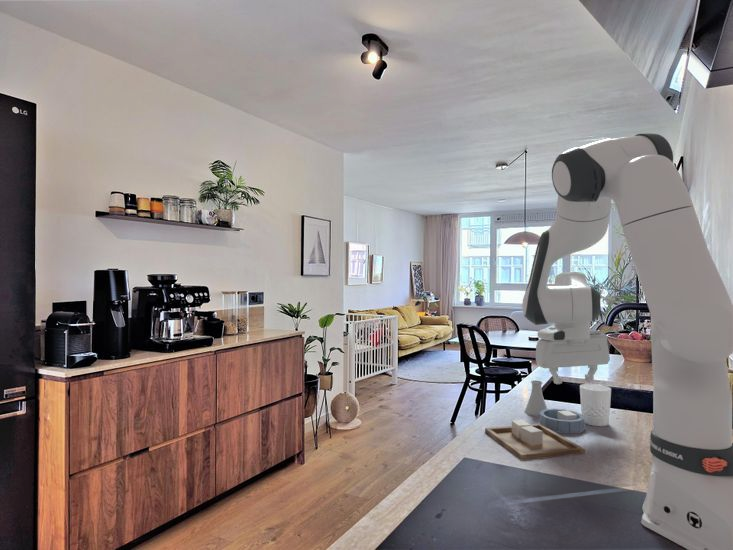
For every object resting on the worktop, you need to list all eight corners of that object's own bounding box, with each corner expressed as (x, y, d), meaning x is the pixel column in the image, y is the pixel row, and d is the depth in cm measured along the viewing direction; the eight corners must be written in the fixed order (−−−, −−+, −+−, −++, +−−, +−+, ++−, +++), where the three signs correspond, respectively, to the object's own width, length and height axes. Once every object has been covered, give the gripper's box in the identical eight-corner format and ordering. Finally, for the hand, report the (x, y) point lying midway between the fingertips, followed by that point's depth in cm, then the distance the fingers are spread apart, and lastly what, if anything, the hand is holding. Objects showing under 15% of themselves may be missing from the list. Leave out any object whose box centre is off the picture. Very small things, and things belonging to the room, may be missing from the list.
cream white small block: (542, 444, 112) (542, 430, 112) (531, 445, 111) (531, 432, 111) (531, 438, 116) (531, 425, 116) (521, 440, 115) (521, 427, 115)
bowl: (593, 433, 121) (593, 419, 121) (555, 436, 119) (555, 422, 119) (566, 420, 132) (566, 407, 132) (532, 422, 130) (532, 410, 130)
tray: (584, 455, 106) (584, 449, 106) (521, 462, 103) (521, 454, 103) (540, 429, 124) (540, 423, 124) (485, 434, 121) (485, 428, 121)
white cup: (576, 417, 134) (576, 383, 134) (606, 419, 133) (606, 384, 133) (583, 426, 127) (583, 390, 127) (614, 428, 125) (614, 391, 125)
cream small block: (530, 437, 117) (530, 424, 117) (518, 438, 116) (518, 425, 116) (523, 432, 121) (523, 419, 121) (511, 432, 120) (511, 420, 120)
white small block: (577, 426, 124) (576, 414, 124) (566, 427, 123) (566, 415, 123) (567, 421, 128) (567, 410, 128) (557, 422, 127) (557, 411, 127)
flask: (552, 419, 133) (551, 384, 133) (525, 417, 134) (525, 383, 134) (547, 411, 140) (547, 379, 140) (522, 410, 141) (522, 378, 141)
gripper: (598, 328, 130) (600, 377, 130) (531, 332, 127) (533, 382, 127) (614, 331, 124) (615, 382, 124) (544, 334, 121) (546, 387, 120)
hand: (573, 382), depth 125 cm, fingers open, 8 cm apart
